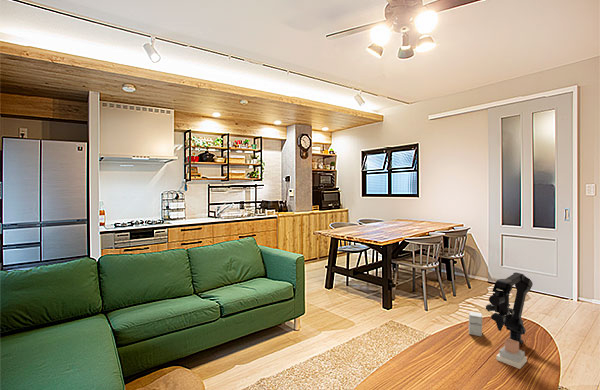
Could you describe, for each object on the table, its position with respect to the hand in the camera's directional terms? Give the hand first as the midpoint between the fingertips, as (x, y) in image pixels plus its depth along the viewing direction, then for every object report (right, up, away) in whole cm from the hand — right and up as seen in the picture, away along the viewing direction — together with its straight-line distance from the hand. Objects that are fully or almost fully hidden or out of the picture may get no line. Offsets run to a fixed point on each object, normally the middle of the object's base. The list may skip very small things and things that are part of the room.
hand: (502, 328), depth 184 cm
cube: (-3, -7, -12) cm, 14 cm away
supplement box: (-5, -12, +20) cm, 23 cm away
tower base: (-3, -13, -12) cm, 18 cm away
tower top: (-3, -10, -12) cm, 16 cm away
